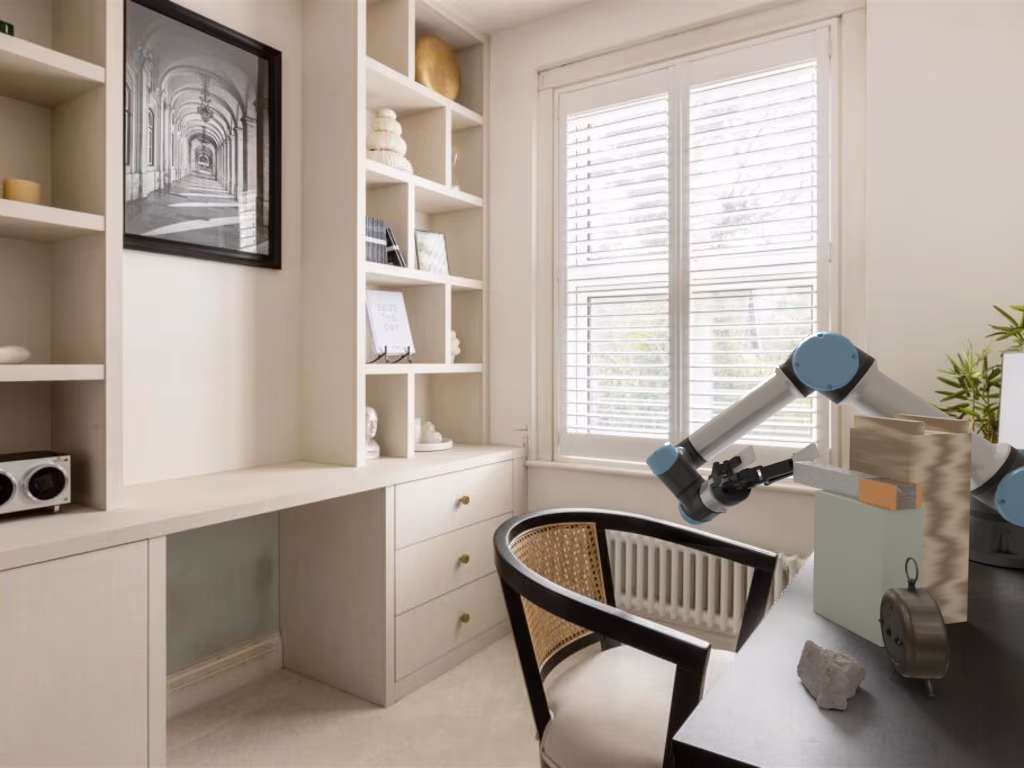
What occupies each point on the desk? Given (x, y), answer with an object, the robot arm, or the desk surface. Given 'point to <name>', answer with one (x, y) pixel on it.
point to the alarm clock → (914, 632)
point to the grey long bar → (860, 485)
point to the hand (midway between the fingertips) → (785, 451)
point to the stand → (927, 492)
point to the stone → (829, 675)
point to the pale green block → (861, 559)
